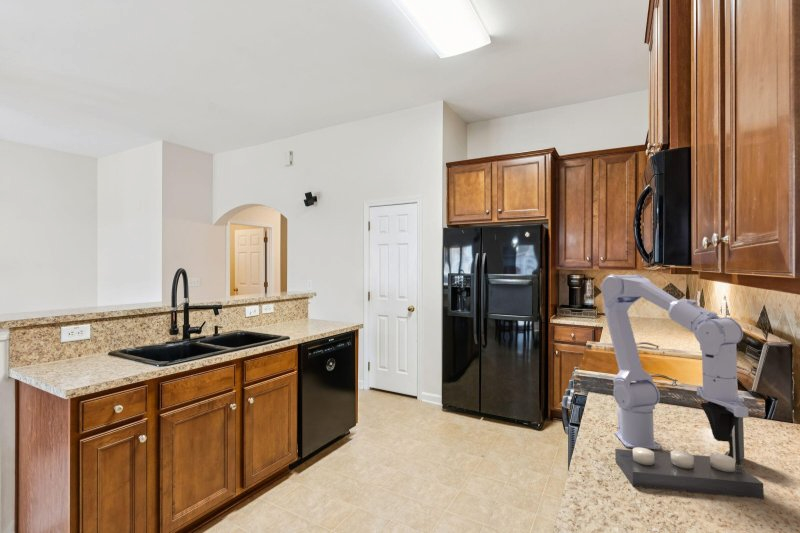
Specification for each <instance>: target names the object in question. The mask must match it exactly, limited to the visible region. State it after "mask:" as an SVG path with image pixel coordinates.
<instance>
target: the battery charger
mask: <svg viewBox="0 0 800 533" xmlns="http://www.w3.org/2000/svg"><path fill="white" fill-rule="evenodd" d="M744 433H745V431H744V417H739V418H738V420H737V421H736V423H735V425H734V427H733V429H732V433H731V436H730V439H729V442H728V444H729V450H728V451H726V453H724V455H727V456H730V457H732V458H733V459H734V460H735V463H736V464H738V465H739V466H741V464H742V463H743V460H744V458H745V440H744V438H745V437H744V435H745V434H744Z"/></svg>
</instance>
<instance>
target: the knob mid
mask: <svg viewBox="0 0 800 533" xmlns="http://www.w3.org/2000/svg"><path fill="white" fill-rule="evenodd" d="M670 453H671V463H672V464H674V465H676V466H678V467H682V468H693V467H694V456H693V455H694V454H692V453H689V452H688V451H683V450H679V449H678V450H674V449H673V450H671V451H670Z"/></svg>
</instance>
